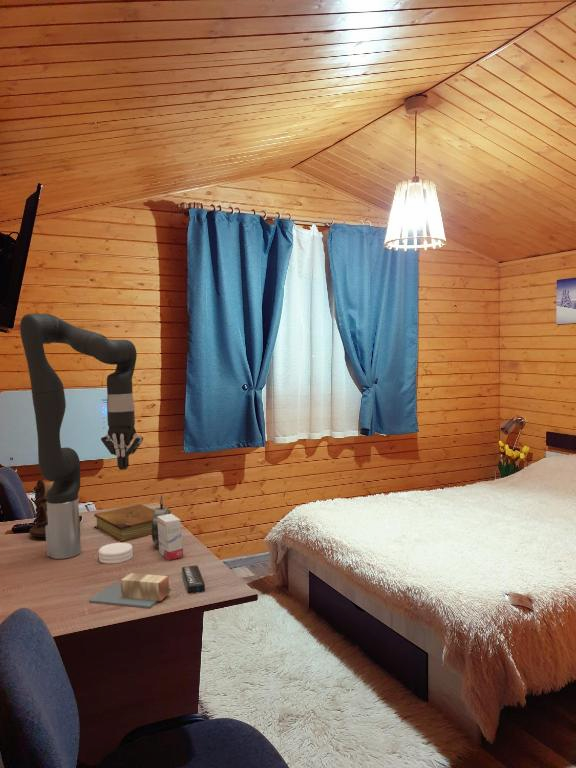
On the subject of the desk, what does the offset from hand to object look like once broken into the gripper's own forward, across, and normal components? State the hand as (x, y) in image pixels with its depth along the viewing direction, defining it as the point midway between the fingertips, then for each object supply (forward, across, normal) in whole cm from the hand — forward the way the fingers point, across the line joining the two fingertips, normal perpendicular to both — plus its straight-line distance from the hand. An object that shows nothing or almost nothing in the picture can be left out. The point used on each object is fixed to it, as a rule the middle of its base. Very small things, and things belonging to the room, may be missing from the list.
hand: (123, 469), depth 167 cm
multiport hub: (+29, +24, -6) cm, 38 cm away
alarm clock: (+29, +1, +20) cm, 35 cm away
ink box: (+29, +8, +11) cm, 32 cm away
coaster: (+29, -8, +6) cm, 31 cm away
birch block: (+26, +10, -18) cm, 33 cm away
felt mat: (+29, +12, -18) cm, 36 cm away
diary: (+30, -19, +34) cm, 49 cm away
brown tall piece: (+29, -44, +23) cm, 58 cm away
